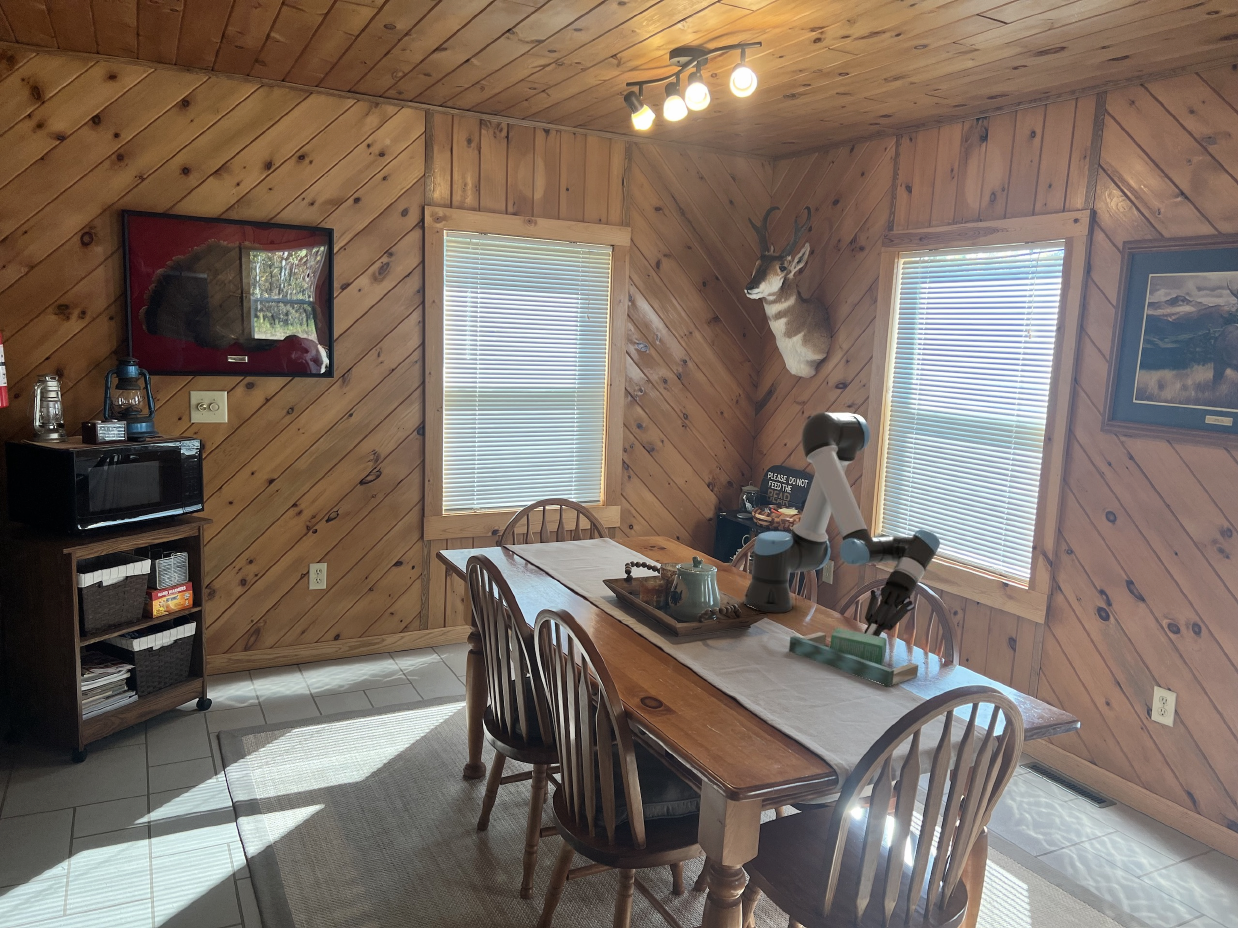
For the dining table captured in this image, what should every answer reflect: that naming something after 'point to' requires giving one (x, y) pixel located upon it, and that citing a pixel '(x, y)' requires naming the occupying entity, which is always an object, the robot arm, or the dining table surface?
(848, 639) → the box
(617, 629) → the dining table surface
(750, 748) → the dining table surface
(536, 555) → the dining table surface
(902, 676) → the bay
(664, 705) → the dining table surface
